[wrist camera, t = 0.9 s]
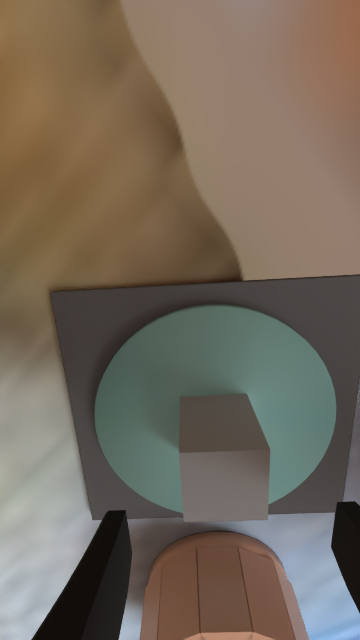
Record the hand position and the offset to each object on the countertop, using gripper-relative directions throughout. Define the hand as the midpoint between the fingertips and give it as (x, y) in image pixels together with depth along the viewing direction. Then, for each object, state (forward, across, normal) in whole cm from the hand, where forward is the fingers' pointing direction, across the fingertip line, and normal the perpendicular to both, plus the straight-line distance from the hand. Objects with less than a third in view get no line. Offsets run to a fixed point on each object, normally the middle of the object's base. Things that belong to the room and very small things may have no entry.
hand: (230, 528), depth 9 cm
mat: (+7, 0, 0) cm, 7 cm away
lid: (+6, 0, 0) cm, 6 cm away
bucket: (+7, 0, +14) cm, 16 cm away
